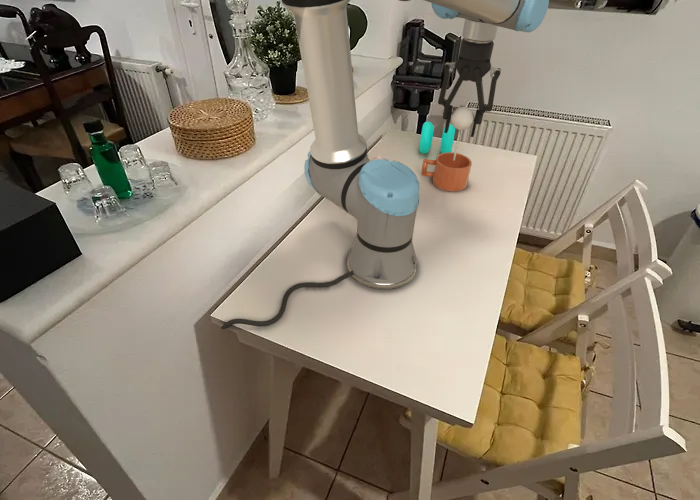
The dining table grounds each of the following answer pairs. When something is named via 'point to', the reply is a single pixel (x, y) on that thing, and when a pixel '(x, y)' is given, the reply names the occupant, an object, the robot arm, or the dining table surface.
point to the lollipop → (461, 121)
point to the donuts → (428, 136)
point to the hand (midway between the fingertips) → (459, 132)
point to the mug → (448, 171)
